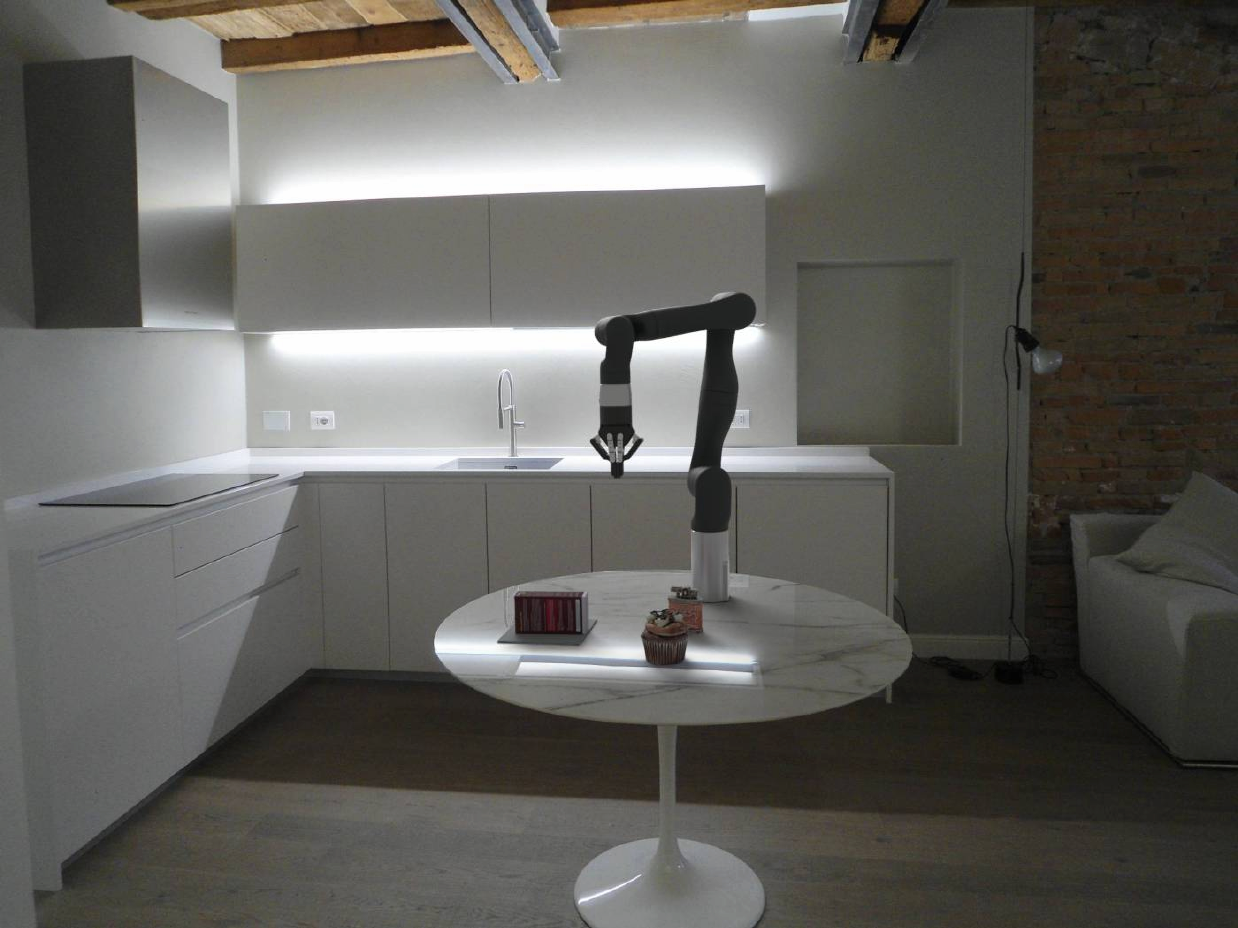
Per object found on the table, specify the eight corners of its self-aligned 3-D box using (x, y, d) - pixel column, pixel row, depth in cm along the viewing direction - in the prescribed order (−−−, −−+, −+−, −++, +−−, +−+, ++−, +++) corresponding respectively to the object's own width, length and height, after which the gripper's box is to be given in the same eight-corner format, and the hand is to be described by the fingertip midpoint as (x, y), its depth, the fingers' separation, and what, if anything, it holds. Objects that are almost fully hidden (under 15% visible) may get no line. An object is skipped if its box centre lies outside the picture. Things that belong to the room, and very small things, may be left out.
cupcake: (699, 658, 187) (698, 609, 186) (664, 670, 181) (663, 619, 179) (665, 647, 194) (665, 600, 193) (631, 658, 188) (630, 610, 187)
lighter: (705, 630, 205) (705, 586, 204) (700, 634, 202) (699, 589, 201) (671, 626, 209) (670, 583, 208) (665, 630, 206) (665, 586, 205)
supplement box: (588, 591, 206) (517, 589, 208) (585, 596, 202) (513, 595, 203) (589, 628, 208) (518, 627, 209) (586, 635, 203) (514, 634, 204)
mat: (596, 621, 214) (596, 619, 214) (579, 645, 197) (579, 643, 197) (521, 618, 218) (521, 616, 217) (497, 642, 200) (497, 640, 200)
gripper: (646, 402, 218) (648, 476, 220) (591, 403, 220) (593, 476, 222) (641, 404, 211) (643, 480, 213) (584, 405, 213) (586, 480, 215)
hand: (617, 478), depth 218 cm, fingers closed
